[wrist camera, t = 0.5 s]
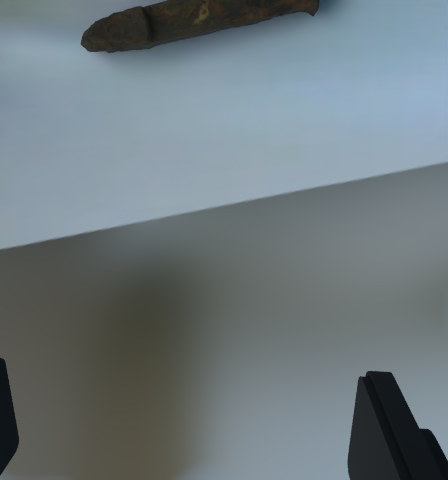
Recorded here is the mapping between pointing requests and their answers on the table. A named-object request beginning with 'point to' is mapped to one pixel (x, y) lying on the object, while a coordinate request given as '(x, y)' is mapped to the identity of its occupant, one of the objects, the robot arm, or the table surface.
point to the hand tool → (182, 21)
